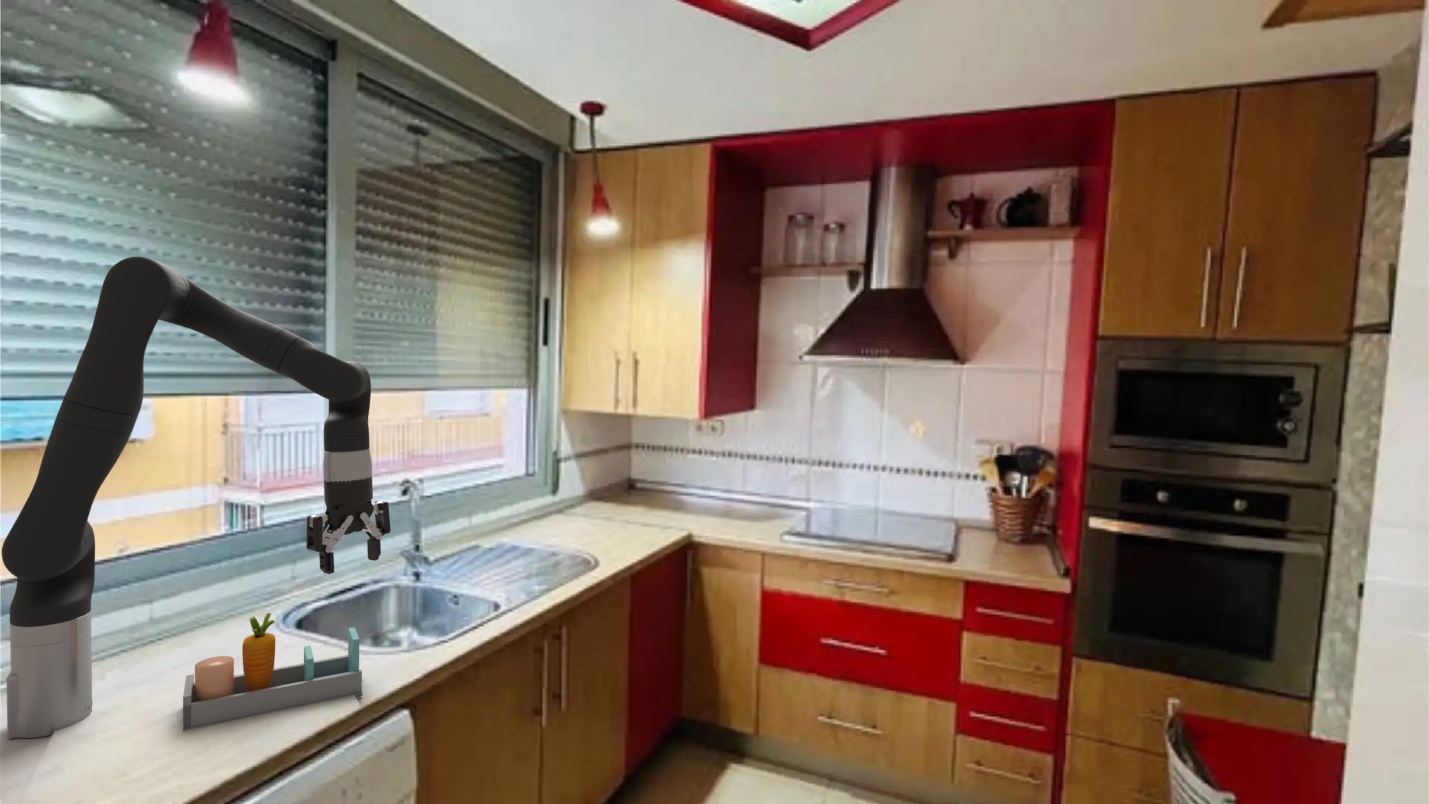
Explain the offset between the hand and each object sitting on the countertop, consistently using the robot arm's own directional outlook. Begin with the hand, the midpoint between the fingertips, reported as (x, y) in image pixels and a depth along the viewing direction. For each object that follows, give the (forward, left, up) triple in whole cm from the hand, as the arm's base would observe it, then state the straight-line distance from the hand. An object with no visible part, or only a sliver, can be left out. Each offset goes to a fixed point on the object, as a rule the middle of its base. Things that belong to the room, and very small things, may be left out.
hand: (351, 566), depth 123 cm
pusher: (-3, +1, -22) cm, 22 cm away
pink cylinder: (-20, +1, -22) cm, 29 cm away
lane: (-11, +1, -22) cm, 25 cm away
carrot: (-14, +1, -22) cm, 26 cm away
